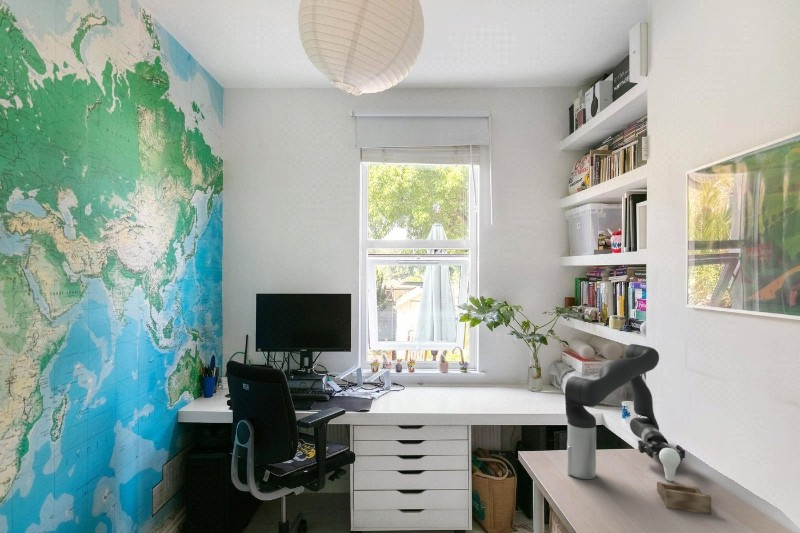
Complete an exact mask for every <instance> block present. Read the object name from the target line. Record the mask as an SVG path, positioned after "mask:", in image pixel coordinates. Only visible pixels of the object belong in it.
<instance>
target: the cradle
mask: <svg viewBox="0 0 800 533" xmlns="http://www.w3.org/2000/svg"><path fill="white" fill-rule="evenodd" d="M656 490H657V493H658V495H659V496H660V498H661V500H662V502H663V504H664V505H665V508H667V509H674V510H682V511H687V512H693V513H698V514H700V513H701V514H706V515H712V496H711V495H710V494H704V493H702V491H701V489H699V487H697V486H692V485H691V486H690V485H681V484H677V483H670V482H669V483H668V482H662V481H657V482H656Z"/></svg>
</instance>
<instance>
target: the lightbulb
mask: <svg viewBox="0 0 800 533" xmlns="http://www.w3.org/2000/svg"><path fill="white" fill-rule="evenodd" d="M658 457H659V461H660V462H661V465H662V466H663V472H664V477H665V479H666V480H667V481H668V482H674V480H675V475H676V471H677V467H679V465H680V463H681V462H680V456H679V454H678V453H677V451H675V450H674V449H672V448H664V449H662V450H661V451H660V453H659V455H658Z"/></svg>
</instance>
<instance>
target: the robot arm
mask: <svg viewBox="0 0 800 533" xmlns="http://www.w3.org/2000/svg"><path fill="white" fill-rule="evenodd" d="M624 351H625V352H624V358H623V357H622V358H617V359H616V358H615V359H612V360H610V361H608V362H607V363H604V365H603V366H602V367H601V368H600V370H599V374H598V376H599V378H596V379H591V378H589V379H588V378H584V377H581V376H580V377H579V376H575V375H574V376H569V378H567V380H566V382H565V387H564V403H565V415H566V419H567V440H566V470H567V475H568V476H572V477H574V478H577V479H582V480H593V479H595V478H596V477H597V420H596V417H595V416H594V415H593V414H592V413H590V412H589V411H588V410H587V409H586V407H588V408H593V407H596V406H598V405H599V404H600V403H601V402H603V401H604V400H605V399H606V398H607V397H609V395H610V394H612V393H613V392H615V391H616V390H617V389H619V388H621V387H623V386H624V385H626V384H628V383H630V386H631V390H632V401H633V411H634V412H635V414H636V415H638V416H640V417H634V418H633V417H632V418H631V420H630V421H629V427H630V431H631V432H632V434H633V435H634V436H636V437H637V438H638V439H641V440H638V441H637V447H638V451H639V453H641V454H644V453H645V454H646V455H647V456H648V457H650V459H654V455H658V456H659V453H660V451H661V450H662V449H664V448H672V449H674V450H675V451H677V453H678V454H679V456H680V463H681V462H682V461H683V460H684V459H686V450H685V449H684V448H683V447H681V445H679V444H677V445H675V446H673V445H671V444H669V441H668V440H667V439H666V437H665V436H664V435H663V433H662V432H661V431H660V425H659V423H658V421H657V419H656V416H655V412H654V404H653V403H654V402H653V396H652V392H651V390H650V389H649V386H648V385H647V384H646V382H645V380H644V379H643V377H642V376H641V375H643V374H645V373H648V372H650V371H653V370H654V369H655V368H656V367H657V365H658V364H659V361H660V354H659V352H658V350H657V349H655V348H653V347H651V346H646V345H640V344H635V343H630V344H628V345H627V346H626V349H625V350H624Z"/></svg>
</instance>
